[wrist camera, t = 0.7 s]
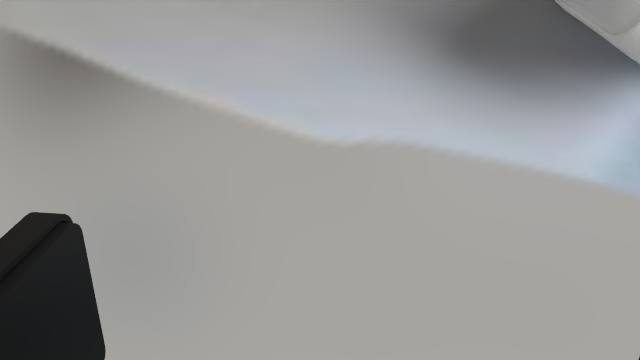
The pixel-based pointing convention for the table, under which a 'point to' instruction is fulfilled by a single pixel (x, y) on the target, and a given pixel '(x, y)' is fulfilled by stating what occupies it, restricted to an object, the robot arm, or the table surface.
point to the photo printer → (610, 21)
